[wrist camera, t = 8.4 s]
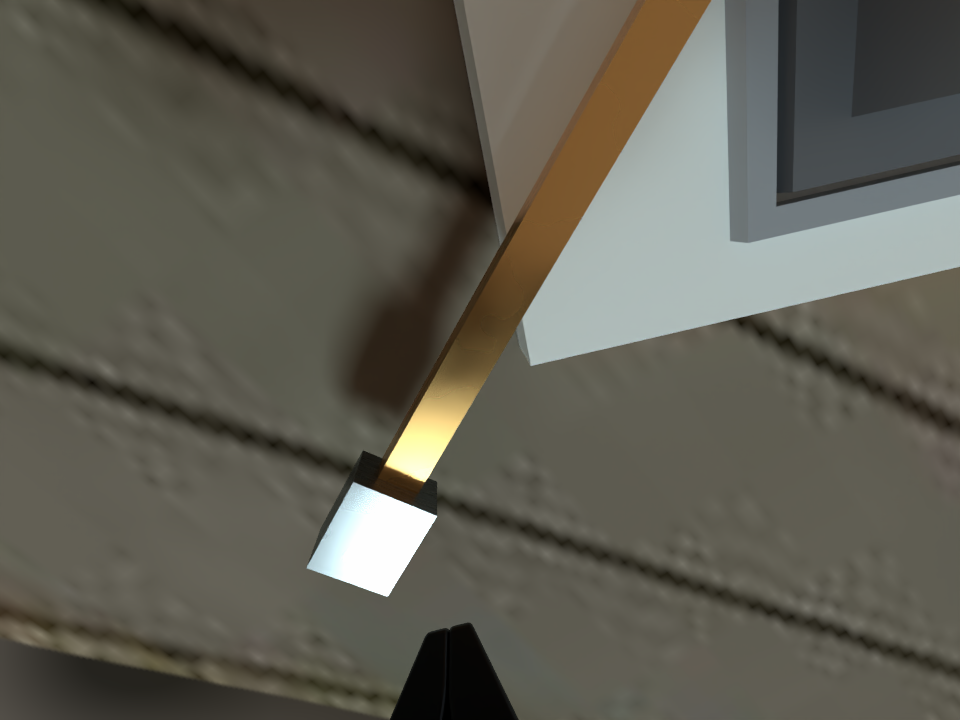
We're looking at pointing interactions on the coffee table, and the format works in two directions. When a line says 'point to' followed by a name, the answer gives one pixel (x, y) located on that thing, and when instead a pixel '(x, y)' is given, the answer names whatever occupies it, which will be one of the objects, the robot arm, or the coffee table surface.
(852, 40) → the plug
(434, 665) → the robot arm
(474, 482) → the coffee table surface
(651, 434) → the coffee table surface
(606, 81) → the golden thin rod
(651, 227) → the power strip
